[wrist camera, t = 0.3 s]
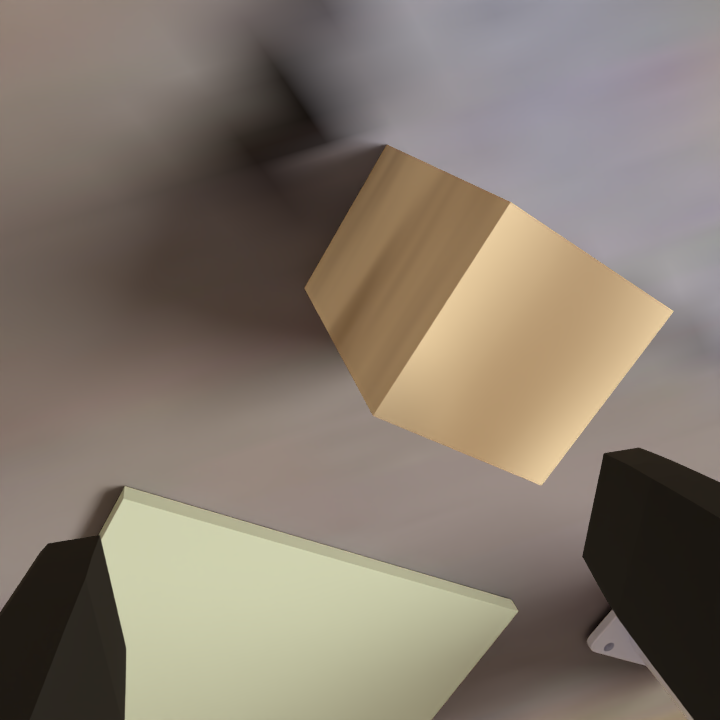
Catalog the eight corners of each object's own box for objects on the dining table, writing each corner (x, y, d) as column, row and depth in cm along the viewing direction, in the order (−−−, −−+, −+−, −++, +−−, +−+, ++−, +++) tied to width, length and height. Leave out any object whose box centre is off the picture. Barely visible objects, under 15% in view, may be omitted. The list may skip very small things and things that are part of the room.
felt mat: (511, 599, 26) (518, 611, 25) (338, 817, 29) (341, 831, 29) (125, 486, 19) (123, 498, 18) (-39, 789, 22) (-44, 807, 22)
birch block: (508, 223, 18) (673, 311, 12) (426, 348, 19) (541, 485, 13) (386, 144, 16) (510, 201, 10) (304, 288, 18) (373, 415, 12)
